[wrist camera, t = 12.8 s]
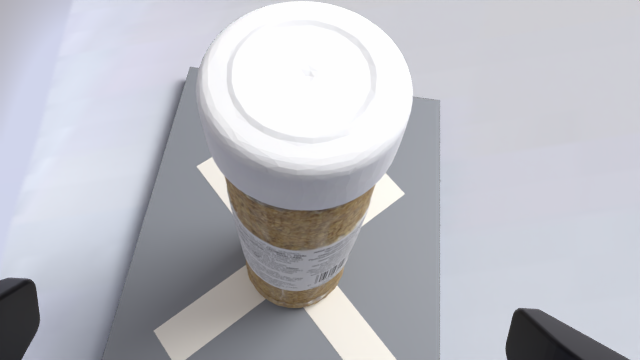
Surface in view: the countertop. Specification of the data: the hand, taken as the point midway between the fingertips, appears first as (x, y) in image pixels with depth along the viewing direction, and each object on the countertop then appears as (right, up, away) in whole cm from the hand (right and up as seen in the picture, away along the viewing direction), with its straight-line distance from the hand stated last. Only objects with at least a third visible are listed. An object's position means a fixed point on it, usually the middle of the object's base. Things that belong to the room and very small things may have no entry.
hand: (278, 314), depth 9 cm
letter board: (-1, -1, +14) cm, 14 cm away
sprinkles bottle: (0, -1, +13) cm, 13 cm away
